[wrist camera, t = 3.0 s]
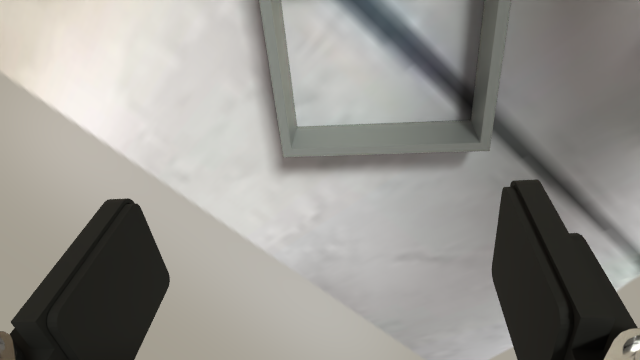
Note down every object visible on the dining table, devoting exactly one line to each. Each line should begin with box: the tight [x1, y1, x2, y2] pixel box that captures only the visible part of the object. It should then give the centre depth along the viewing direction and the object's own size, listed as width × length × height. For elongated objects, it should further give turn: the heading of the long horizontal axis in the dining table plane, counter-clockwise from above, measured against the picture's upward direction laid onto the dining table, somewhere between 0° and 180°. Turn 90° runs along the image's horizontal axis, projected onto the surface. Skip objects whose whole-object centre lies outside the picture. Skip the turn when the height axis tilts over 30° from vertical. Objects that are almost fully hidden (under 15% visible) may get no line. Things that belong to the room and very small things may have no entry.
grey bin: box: [259, 0, 511, 157], centre depth 30 cm, size 15×15×4 cm
